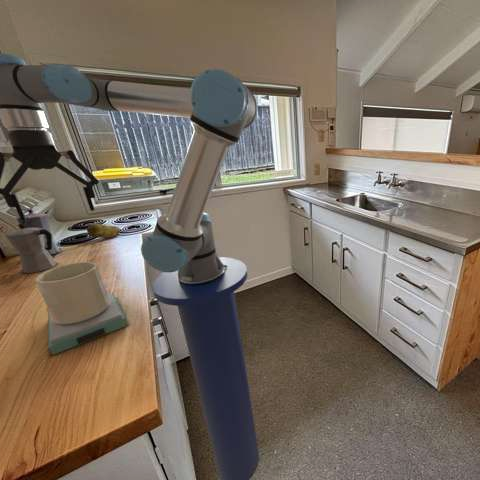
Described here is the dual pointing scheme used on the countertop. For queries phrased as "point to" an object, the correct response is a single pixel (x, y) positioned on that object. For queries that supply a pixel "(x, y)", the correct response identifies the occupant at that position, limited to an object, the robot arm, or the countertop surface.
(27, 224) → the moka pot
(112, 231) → the potato
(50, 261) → the coffeepot
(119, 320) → the kitchen scale
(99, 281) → the cream round pot
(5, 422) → the countertop surface
